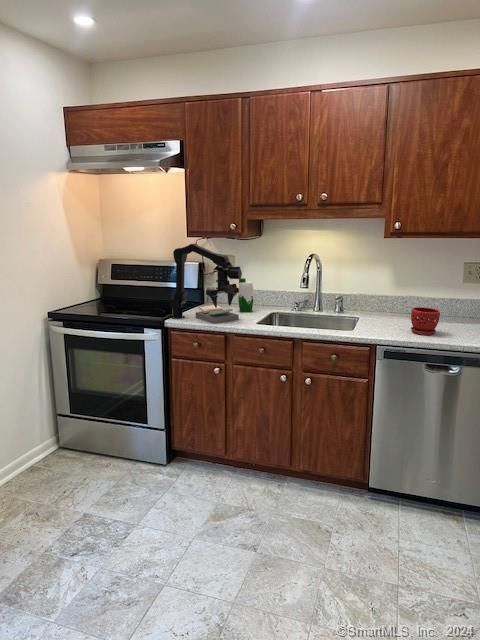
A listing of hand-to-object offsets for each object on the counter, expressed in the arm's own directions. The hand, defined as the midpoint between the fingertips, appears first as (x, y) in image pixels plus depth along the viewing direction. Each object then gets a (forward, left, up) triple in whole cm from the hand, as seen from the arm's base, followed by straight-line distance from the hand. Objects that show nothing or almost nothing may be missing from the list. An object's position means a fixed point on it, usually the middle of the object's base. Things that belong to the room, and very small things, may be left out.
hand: (222, 306), depth 258 cm
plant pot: (+84, +63, -8) cm, 105 cm away
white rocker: (-12, 0, -4) cm, 13 cm away
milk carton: (-13, +26, -8) cm, 30 cm away
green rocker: (-2, 0, -4) cm, 5 cm away
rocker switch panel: (-6, 0, -8) cm, 10 cm away
